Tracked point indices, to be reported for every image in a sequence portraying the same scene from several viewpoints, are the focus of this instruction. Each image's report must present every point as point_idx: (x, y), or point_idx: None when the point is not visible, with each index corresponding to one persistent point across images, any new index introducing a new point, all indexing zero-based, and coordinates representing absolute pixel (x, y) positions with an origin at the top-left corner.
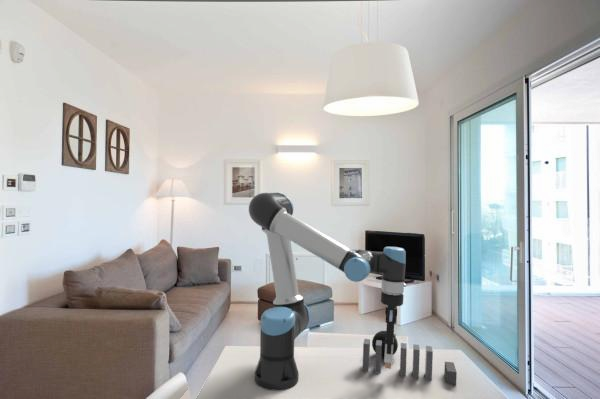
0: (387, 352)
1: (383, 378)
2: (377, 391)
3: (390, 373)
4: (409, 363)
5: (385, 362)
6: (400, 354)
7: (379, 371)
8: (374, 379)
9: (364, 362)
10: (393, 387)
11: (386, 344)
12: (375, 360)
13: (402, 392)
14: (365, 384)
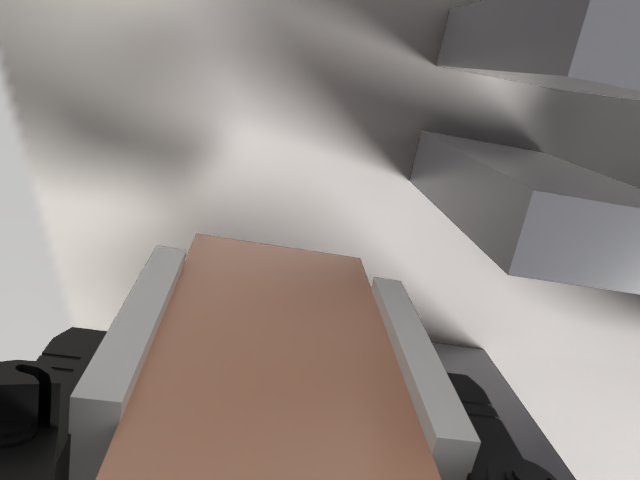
0: (50, 350)
1: (309, 194)
2: (49, 111)
3: (410, 265)
4: (596, 432)
5: (185, 260)
6: (530, 432)
7: (414, 174)
8: (278, 109)
9: (474, 20)
10: None
11: (77, 405)
12: (454, 151)
13: (86, 315)
14: (162, 8)
